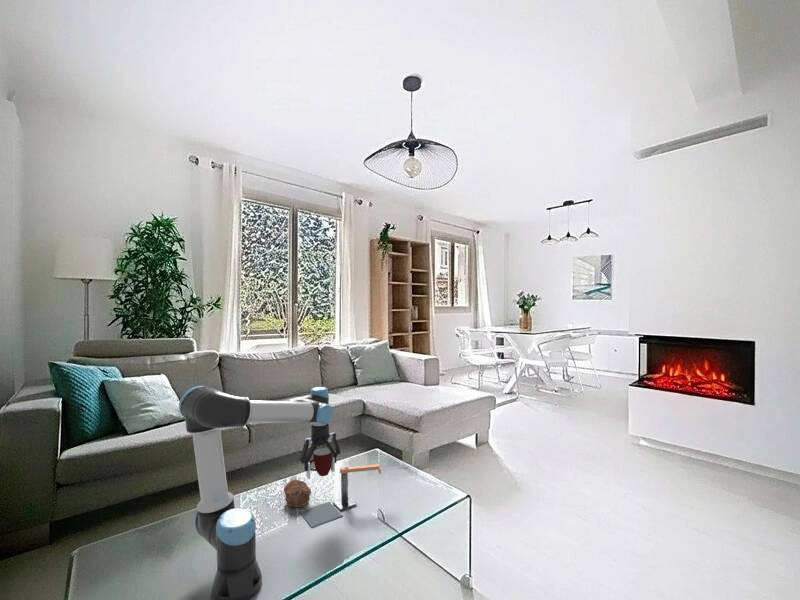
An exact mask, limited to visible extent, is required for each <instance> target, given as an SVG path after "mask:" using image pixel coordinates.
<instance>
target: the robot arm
mask: <svg viewBox="0 0 800 600" xmlns="http://www.w3.org/2000/svg"><path fill="white" fill-rule="evenodd" d="M329 401H330V397H329V389H328V388H327V387H326V386H316V387H313V388H311V389H310V394H307V395H303V396H299V397H293V398H290V399H288V400H286V401H285V400H283V401H282V400H255V399H254V400H253V399H251V400H250V399H249V397H247V396H236V395H232V394H229V393H226V392H223V391H221V390H218V389H215V388H213V387H211V386H207V385H206V386H205V385H197V386H193V387H191V388H189V389H188V390H186V391H185V392H184V393H183V395H182V396H181V397H180V400H179V402H178V409H179V412H180V414H181V415H182V416H183V418H184V421H185V429H186V433H188V434H190V435H192V436H191V437H192V441H193V450H194V456H195V457H194V459H195V464H196V465H195V466H196V474H197V479H198V488H199V496H200V501H199V502H197V505H196V512H195V515H194V518H193V519H194V520H193V522H194V524H193V525H194V528H195V529H196V532H197V533H198V535H199V536H200V537H202V538H203V539H204V540H205V541H206V542H207V543H208V544H209V545H211V546H212V548H213V549H214V550H215V551H216V567H217V568H216V569H217V570H216V572H215V575H214V580H213V582H212V584H211V585H212V587H211V599H212V600H250V599H251V598H253V597H254V596H255V595H256V594H257V593H258V591H260V589H261V586H262V583H263V575H262V570H261V568H260V566H259V563H258V561H257V552H256V549H257V546H256V541H257V540H256V538H257V537H256V530H257V526H256V525H257V523H256V520H255V519H256V518H255V515H254V513H253V512H252V511H251V510H249V509H247V508H240V507H237V508H236V507H235V499H234V494H233V493H232V492H230V491H229V489H228V481H227V474H226V466H225V465H226V463H225V457H224V450H223V447H224V446H223V440H222V434H221V429H224V428H225V429H226V428H242V427H246V425H249V424H283V423H284V424H285V423H286V424H289V423H310V425H311V426H310V428H311V429H310V431H311V435H310V437H308V438H307V437H305V438H304V439H303V447H302V450H301V454H300V457H299V462H300V463H301V464H303V465H304V466H303V469H304V471H305V474H306V478H307V479H308V480H310V479H311V470H310V467H311V465H310V463H309V461H310V460H312V459H311V458H313V457H312V456H313V453H314V451H315V450H317V447H320V446H326V448H328V449H329V450H330V452H332V463H331V469H330V471H331V472H332V473H334V472H335V470H336V469H335V468H336V467H335V464H337V458H338V455H340V454H341V449H340V447H339V444H338V441H337V433H335V431H334V432H333V431H331V432H330V422H331V421H332V419H333V417H334V408H333V407H332V405H330V403H329ZM329 439H331V441H332V445H333V447H332V445H331V443H330V442H329ZM311 442H312V443H311ZM309 446H310V447H309Z"/></svg>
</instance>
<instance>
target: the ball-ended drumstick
mask: <svg viewBox="0 0 800 600" xmlns="http://www.w3.org/2000/svg"><path fill="white" fill-rule="evenodd" d="M367 471H377V472H378V474H379V475H380V474H381V473H382V470H381V467H380V464H379V463H378V464H376V463H375V464H367V465H358V466H357V465H356V466H342V467H340V468H339V474H340V475H341V474H346V473H348V474H349V473H358V472H367ZM381 475H382V474H381Z"/></svg>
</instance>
